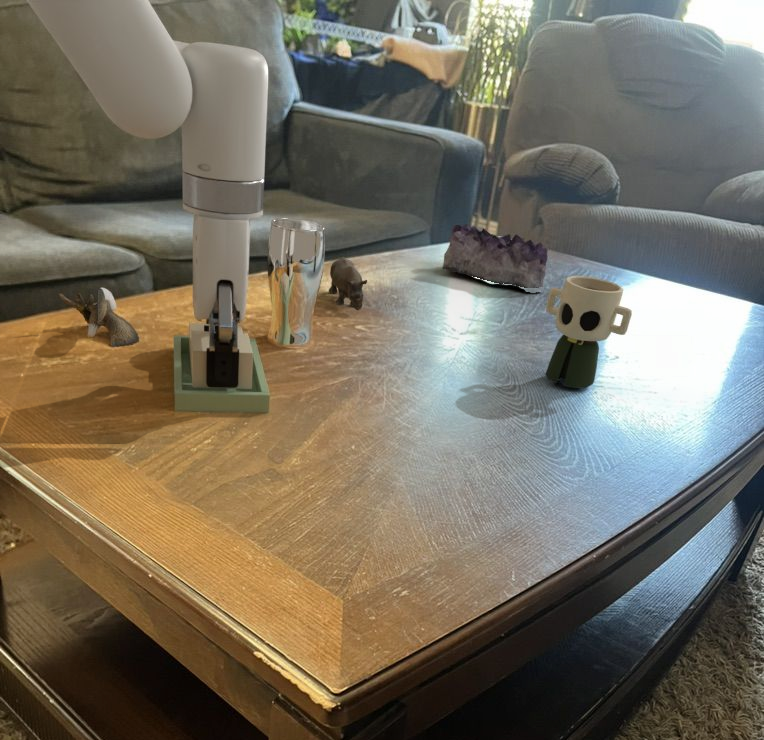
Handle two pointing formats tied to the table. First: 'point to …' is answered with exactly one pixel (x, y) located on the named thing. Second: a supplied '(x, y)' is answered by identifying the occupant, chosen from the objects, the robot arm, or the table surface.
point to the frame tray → (217, 397)
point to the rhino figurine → (347, 282)
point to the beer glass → (294, 279)
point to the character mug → (583, 327)
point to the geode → (495, 257)
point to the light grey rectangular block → (199, 360)
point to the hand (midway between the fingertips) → (220, 372)
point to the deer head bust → (104, 318)
